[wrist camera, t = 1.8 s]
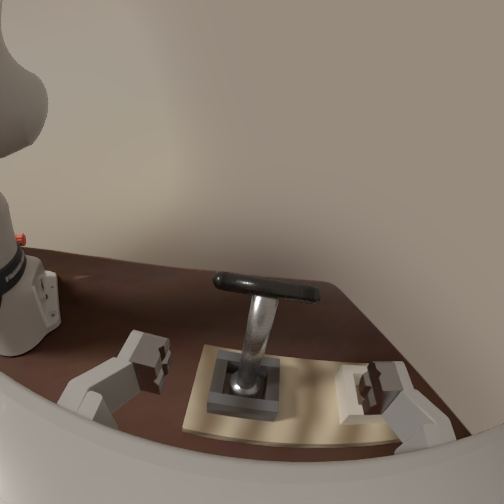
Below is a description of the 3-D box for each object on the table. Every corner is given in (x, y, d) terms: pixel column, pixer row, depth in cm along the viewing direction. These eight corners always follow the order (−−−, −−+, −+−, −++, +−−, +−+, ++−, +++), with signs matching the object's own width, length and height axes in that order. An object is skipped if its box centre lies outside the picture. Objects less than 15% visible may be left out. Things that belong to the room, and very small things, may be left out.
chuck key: (204, 396, 32) (209, 284, 22) (209, 373, 35) (217, 259, 26) (279, 407, 32) (325, 303, 22) (280, 384, 35) (320, 276, 26)
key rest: (339, 424, 30) (349, 414, 28) (334, 376, 37) (341, 364, 35) (392, 422, 30) (403, 412, 28) (382, 377, 37) (391, 366, 35)
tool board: (183, 432, 28) (180, 418, 26) (204, 350, 40) (204, 330, 38) (403, 441, 28) (421, 427, 26) (386, 369, 40) (398, 352, 38)
